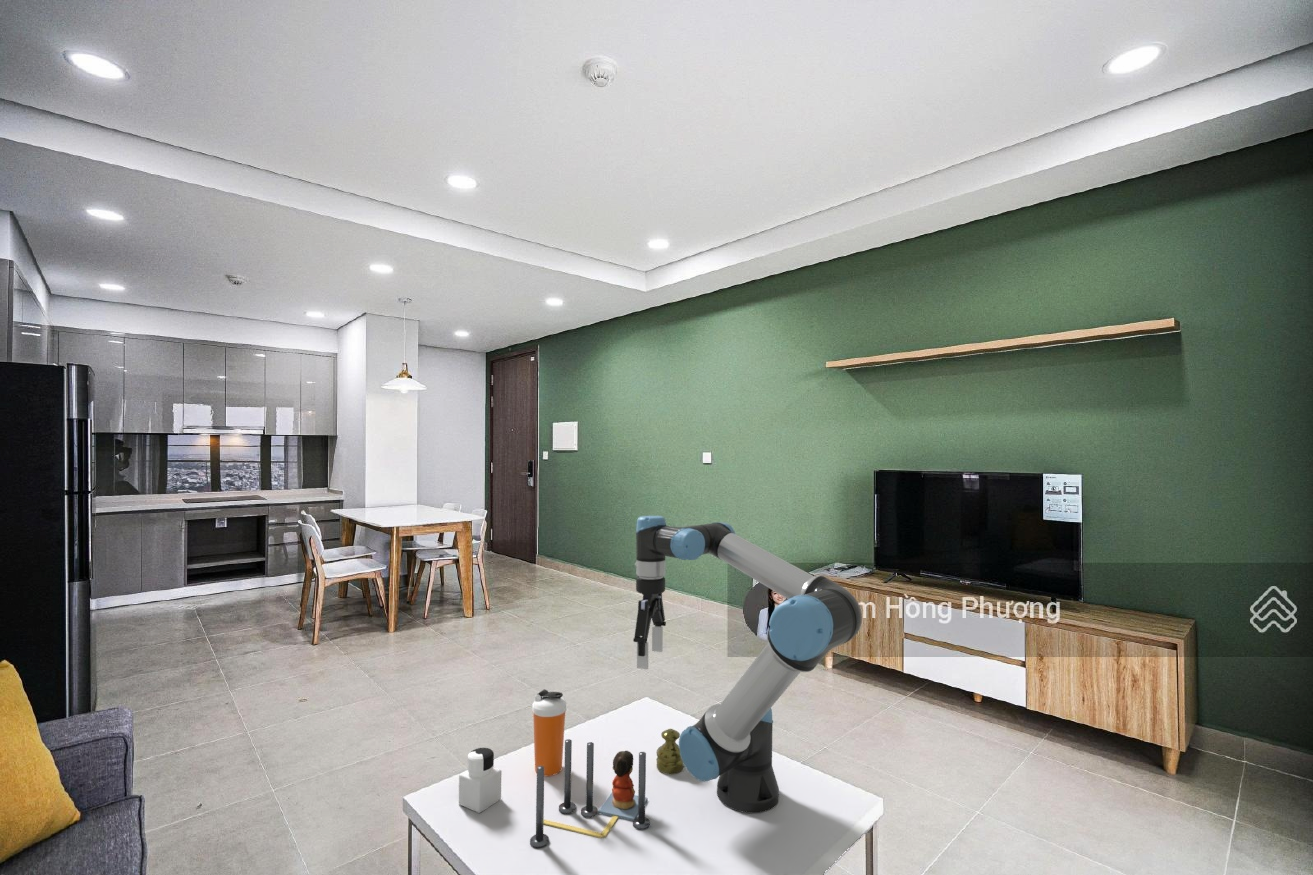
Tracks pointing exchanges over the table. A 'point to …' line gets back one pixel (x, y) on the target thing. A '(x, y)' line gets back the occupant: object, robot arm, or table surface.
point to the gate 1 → (564, 808)
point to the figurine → (623, 781)
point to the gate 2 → (641, 820)
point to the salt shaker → (669, 753)
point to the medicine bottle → (480, 781)
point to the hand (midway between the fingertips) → (650, 659)
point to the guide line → (584, 831)
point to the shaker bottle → (549, 731)
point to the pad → (621, 813)
